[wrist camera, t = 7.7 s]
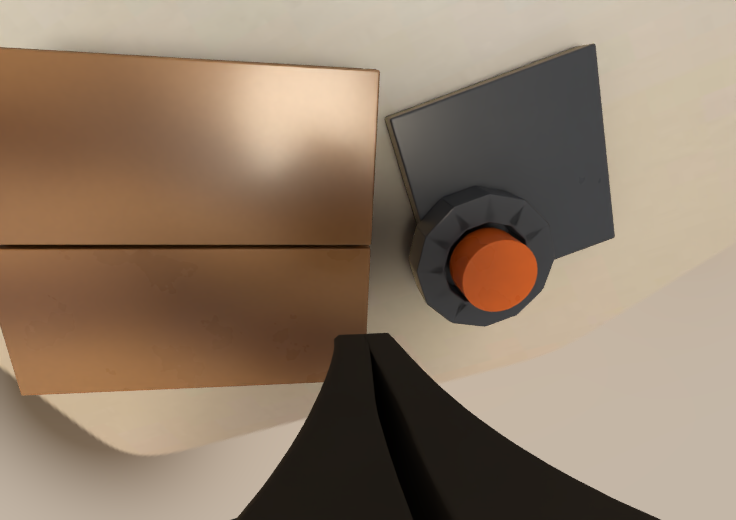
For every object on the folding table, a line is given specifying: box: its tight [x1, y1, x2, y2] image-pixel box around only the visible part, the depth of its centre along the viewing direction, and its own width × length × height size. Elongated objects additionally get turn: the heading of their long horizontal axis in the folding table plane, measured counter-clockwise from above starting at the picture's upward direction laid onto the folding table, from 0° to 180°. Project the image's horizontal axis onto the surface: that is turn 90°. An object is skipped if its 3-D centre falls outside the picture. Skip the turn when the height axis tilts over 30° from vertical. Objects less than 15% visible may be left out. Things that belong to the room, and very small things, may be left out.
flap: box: [0, 245, 370, 395], centre depth 14 cm, size 5×12×1 cm, turn 87°
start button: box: [450, 228, 538, 312], centre depth 18 cm, size 3×3×2 cm
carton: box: [0, 47, 380, 246], centre depth 16 cm, size 11×12×6 cm
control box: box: [385, 44, 615, 326], centre depth 19 cm, size 10×10×3 cm
